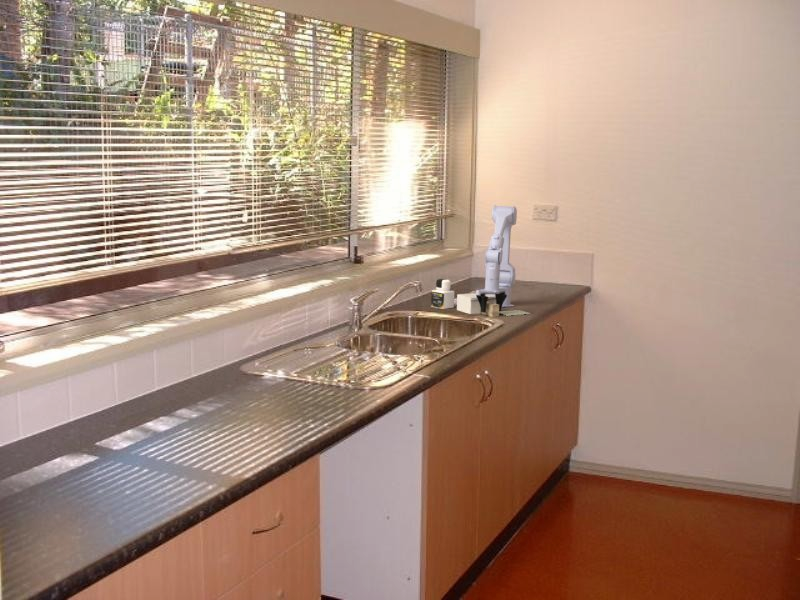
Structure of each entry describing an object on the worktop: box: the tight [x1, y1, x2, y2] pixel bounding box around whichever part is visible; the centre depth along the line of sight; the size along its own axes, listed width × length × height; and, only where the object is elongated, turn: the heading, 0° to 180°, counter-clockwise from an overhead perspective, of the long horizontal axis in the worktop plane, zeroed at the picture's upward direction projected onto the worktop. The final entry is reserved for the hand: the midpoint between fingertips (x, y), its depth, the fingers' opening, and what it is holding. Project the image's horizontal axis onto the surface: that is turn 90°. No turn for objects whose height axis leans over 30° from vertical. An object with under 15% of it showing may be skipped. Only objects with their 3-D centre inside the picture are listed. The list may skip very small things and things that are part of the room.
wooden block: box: [479, 301, 500, 318], centre depth 391 cm, size 10×3×5 cm, turn 29°
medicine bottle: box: [430, 278, 455, 310], centre depth 403 cm, size 7×7×12 cm
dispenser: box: [456, 292, 496, 315], centre depth 397 cm, size 10×14×7 cm
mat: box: [499, 309, 531, 317], centre depth 395 cm, size 8×12×1 cm, turn 121°
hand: (490, 311), depth 390 cm, fingers open, 7 cm apart
